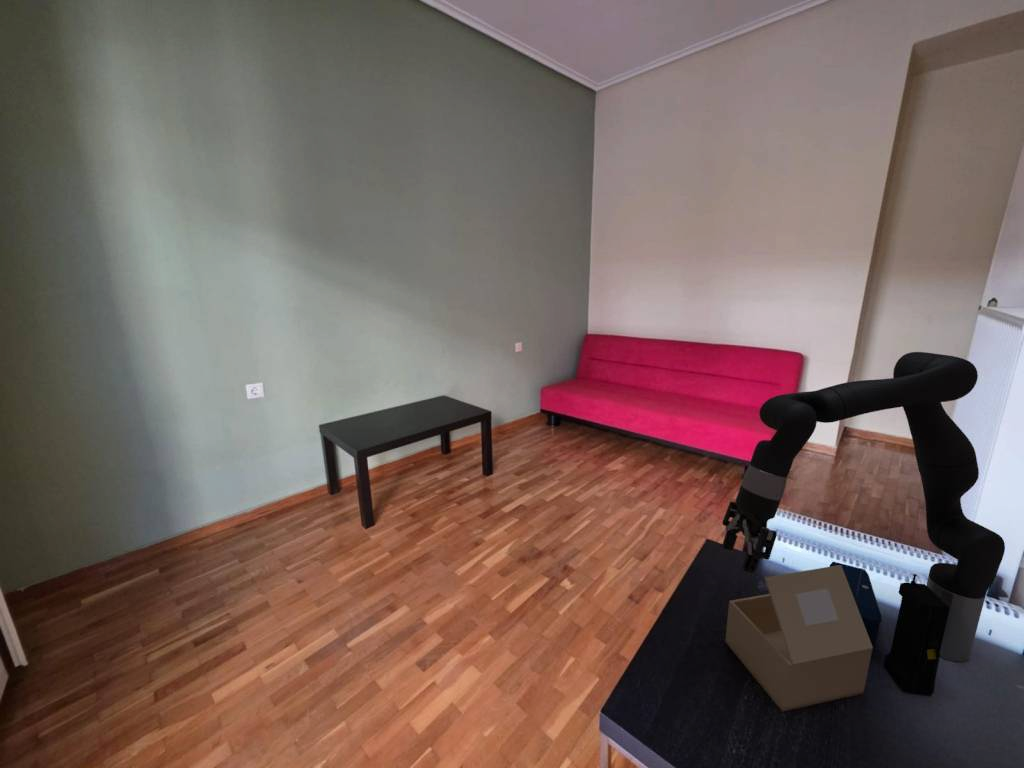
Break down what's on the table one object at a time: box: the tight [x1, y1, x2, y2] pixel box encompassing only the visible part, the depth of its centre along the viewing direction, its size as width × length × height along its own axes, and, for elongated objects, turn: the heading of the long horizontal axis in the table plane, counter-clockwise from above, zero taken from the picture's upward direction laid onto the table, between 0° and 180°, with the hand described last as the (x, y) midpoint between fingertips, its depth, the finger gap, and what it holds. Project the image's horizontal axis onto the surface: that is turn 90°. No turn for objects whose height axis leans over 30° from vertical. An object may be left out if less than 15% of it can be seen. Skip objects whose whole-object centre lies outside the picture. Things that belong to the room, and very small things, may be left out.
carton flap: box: [764, 565, 873, 664], centre depth 88 cm, size 16×19×1 cm
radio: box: [829, 561, 883, 656], centre depth 106 cm, size 21×9×20 cm, turn 148°
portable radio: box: [883, 573, 950, 697], centre depth 89 cm, size 8×6×25 cm
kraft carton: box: [724, 593, 872, 713], centre depth 96 cm, size 18×20×12 cm
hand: (736, 559), depth 90 cm, fingers open, 8 cm apart
